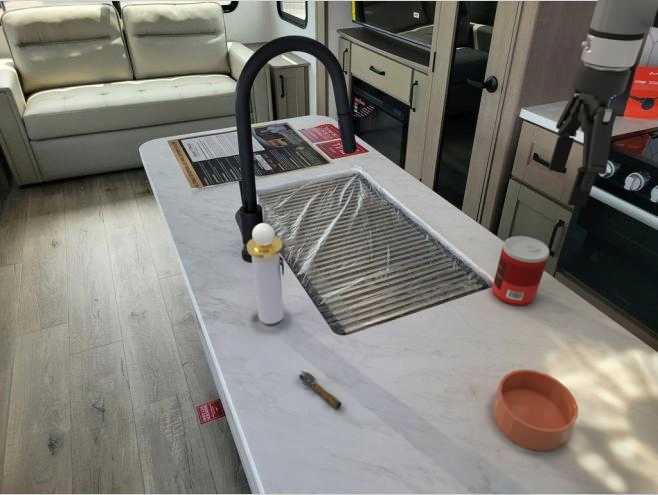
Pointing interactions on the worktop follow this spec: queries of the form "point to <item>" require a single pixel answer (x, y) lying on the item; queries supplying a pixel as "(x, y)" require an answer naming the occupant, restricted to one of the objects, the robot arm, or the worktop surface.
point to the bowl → (534, 410)
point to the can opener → (319, 389)
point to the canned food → (520, 270)
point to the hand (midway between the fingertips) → (565, 186)
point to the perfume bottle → (267, 272)
